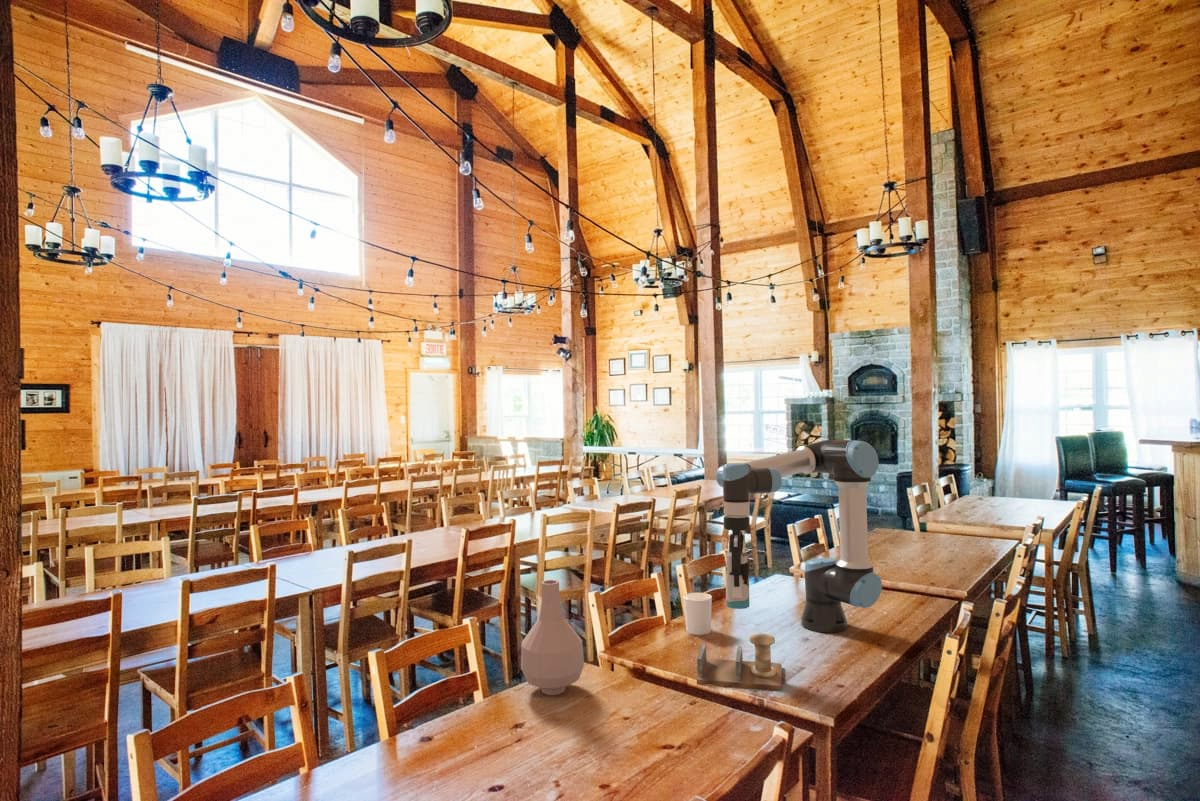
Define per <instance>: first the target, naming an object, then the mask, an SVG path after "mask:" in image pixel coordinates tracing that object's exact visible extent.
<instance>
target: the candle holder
mask: <svg viewBox="0 0 1200 801" xmlns="http://www.w3.org/2000/svg"><path fill="white" fill-rule="evenodd" d="M682 596H683V607H684V609H683V610H684V620H685V629H686V633H688V634H689V635H693V636H705V634H706V635H709V634H710V633H711V630H712V602H713V601H712V599H713V597H712V595H711V594H708V593H705V592H688V593H686V594H683V595H682Z"/></svg>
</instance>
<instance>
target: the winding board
mask: <svg viewBox="0 0 1200 801" xmlns="http://www.w3.org/2000/svg"><path fill="white" fill-rule="evenodd" d="M775 639H776V638H775V636H773V635H772V634H767V633H753V634H751V635H750V636H749V642H750V643H751V644H752V645H754V646H753V647H754V661H753V660H752V661H749V660H743V659H744V657H743V646H740V645H739V646H737V651H736V656H735V659H718V658H707V645H706V643H701V645H700V649H699V652H698V655H697V658H696V662H697V663H696V665H697V666H696V667H697V677H696V684H697V685H707V684H714V685H713V686H720V685H726V686H725V687H733V686H735V687H736V688H749V689H761V690H774V691H783V690H782V689H783V688H782V687H783V685H782V679H783V678H782V663H778V662H772V656H771V655H772V654H771V653H772V652H771V646H772V645H774V644H776V640H775ZM727 685H728V686H727ZM735 687H734V688H735Z"/></svg>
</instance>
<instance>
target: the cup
mask: <svg viewBox="0 0 1200 801" xmlns="http://www.w3.org/2000/svg"><path fill="white" fill-rule="evenodd" d="M724 555H725V562H724V563H725V605H726V607H728V608H730V609H734V610H736V609H737V610H743V609H748V608H750V570H749V569H750V568H749V567H750V566H749V565H750V562H749V561H750V560H749V559H750V558H749V554H748V553H746V552H742V553H741V575H742V598H734V597H732V575H730V574H729V573H731V571H732V551H730V552H725V554H724Z"/></svg>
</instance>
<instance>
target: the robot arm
mask: <svg viewBox="0 0 1200 801" xmlns="http://www.w3.org/2000/svg"><path fill="white" fill-rule="evenodd" d="M879 462H880V461H879V457H878V453H877V451H876V449H875V448H874V447H873V446H872V445H871V444H870V443H868V442H866V441H862V440H857V439H855V440H853V439H852V440H847V439H846V440H845V439H826V440H821V441H816V442H813V443H809V444H805V445H801V446H799V447H797V448H796V449H795V450H794V451H789V452H785V453H781V454H777V455H776V454H775V455H772V456H768V457H764V458H760V459H754V460H752V461H748V462H747V461H746V462H727V463H725V464H723V465H721V466H720V467H719V468H718V469H717V470H716V472H715V481H716V482H717V484H718V486H719V487H720V488H722V491H723V492H722V493H723V494H722V496H723V503H722V504H721V505H720V506H721V508H723V514H724V516H723V528H724V530H727V531H731V534H730V535H729V542H730V552H732V571H731V573H729V574H730V575H732V597H734V598H742V575H741V553H743V551H744V550H743V549H744V541H745V535H744V534H743V532H742V531H744V532H745V531H748V530H749V529H750V527H751V524H750V522H751V520H750V516H749V515H750V514H751V513H750V512H751V511H750V507H751V506H750V495H755V494H756V495H759V494H771V493H776V492H778V491H779V490H780V489H781V486H782V481H783V480H782V478H785V477H788V476H793V475H796V474H805V475H808V474H809V475H810V474H813V473H817V474H818V473H820V474H830V475H833V478H832V480H833V482H834V483H835V485H837V486H838V487H837V488H838V513H839V514H838V516H839V517H838V518H839V522H838V523H839V553H840V558H837V557H836V558H835V557H819V558H818V557H817V558H811V559H808V560H807V561H806V562H805V564H804V586H805V589H804V590H805V605H804V608H803V611H802V614H801V618H800V619H801V620H800V622H801V626H802V627H803V628H804V629H807V630H810V631H813V632H819V633H841V632H843V631H846V630H847V629H848V619H847V617H846V614H845V611H844V608H843V606H842V603H844V604H848V605H850V606H853V607H854V608H855V607H856V608H857V607H858V608H861V609H862V608H863V609H867V608H870V607H872V606H874V605H875V604H876V603H877V601H878V600H879V599H880V597H881V594H882V589H883V583H882V578H880V576H879V575H878V574H877V573H875V572H874V564H873V562H871V560H869V546H868V545H869V544H868V509H867V508H868V507H867V506H868V505H867V503H868V501H867V486H869V485H870V483H871V482H872V477H874V476H875V475H876V473H877V471H878V469H879Z"/></svg>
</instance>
